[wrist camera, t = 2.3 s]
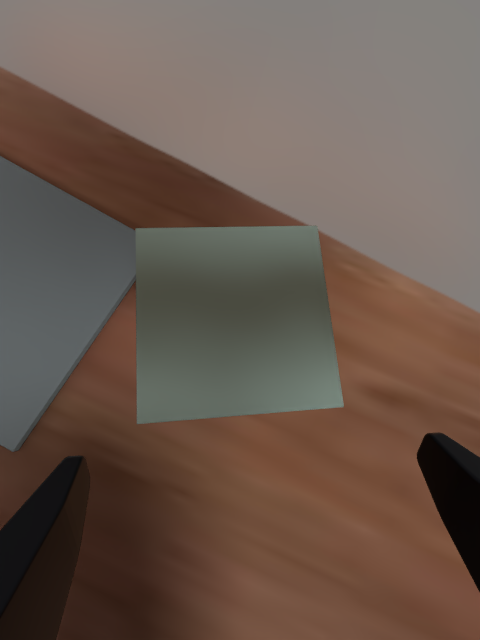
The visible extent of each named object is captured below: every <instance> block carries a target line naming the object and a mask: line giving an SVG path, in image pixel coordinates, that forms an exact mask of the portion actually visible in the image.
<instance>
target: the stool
mask: <svg viewBox="0 0 480 640" xmlns="http://www.w3.org/2000/svg"><path fill="white" fill-rule="evenodd" d="M136 359H137V424H143V423H155V422H168V421H180V420H192V419H204V418H216V417H228V416H240V415H252V414H264V413H276V412H288V411H300V410H312V409H324V408H336V407H344V404H343V398H342V391H341V384H340V377H339V371H338V364H337V357H336V350H335V343H334V337H333V330H332V323H331V316H330V310H329V303H328V296H327V289H326V282H325V276H324V269H323V262H322V255H321V248H320V242H319V235H318V228H317V226H260V227H189V228H136Z"/></svg>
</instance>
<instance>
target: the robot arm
mask: <svg viewBox="0 0 480 640" xmlns="http://www.w3.org/2000/svg"><path fill="white" fill-rule="evenodd" d="M417 461H418V464H419V466H420V469H421V471H422V473H423V476H424V478H425V481H426V483H427V486H428V488H429V490H430V493H431V495H432V498H433V500H434V503H435V505H436V508H437V510H438V512H439V514H440V517H441V519H442V521H443V523H444V525H445V527H446V529H447V531H448V532H449V534H450V536H451V538H452V540H453V542H454V544H455V546H456V548H457V550H458V552H459V554H460V555H461V557H462V559H463V561H464V563H465V565H466V567H467V569H468V571H469V573H470V575H471V577H472V578H473V580H474V582H475V584H476V586H477V588H478V590H479V592H480V457H478V456H477V455H475V454H474V453H472V452H471V451H469V450H468V449H466V448H465V447H463V446H462V445H460V444H459V443H457V442H455V441H454V440H452V439H451V438H449V437H448V436H446V435H445V434H443V433H427V434H426V435H425V436H424V438H423V440H422V443H421V445H420V447H419V450H418V452H417ZM89 489H90V475H89V471H88V467H87V462H86V459H85V457H84V456H69V457H66V458H65V459H64V460H63V461H62V462H61V463H60V464H59V465H58V466H57V467H56V469H55V470H54V471H53V472H52V473H51V474H50V475H49V476H48V478H47V479H46V480H45V481H44V482H43V483H42V484H41V485H40V486H39V488H38V489H37V490H36V491H35V492H34V493H33V494H32V495H31V497H30V498H29V499H28V500H27V501H26V502H25V503H24V504H23V506H22V507H21V508H20V509H19V510H18V511H17V512H16V513H15V515H14V516H13V517H12V518H11V519H10V520H9V521H8V522H7V524H6V525H5V526H4V527H3V528H2V529H1V530H0V640H56V637H57V633H58V630H59V626H60V622H61V619H62V615H63V611H64V608H65V604H66V600H67V597H68V593H69V589H70V585H71V582H72V578H73V574H74V571H75V567H76V563H77V559H78V555H79V550H80V545H81V539H82V533H83V526H84V520H85V514H86V508H87V501H88V495H89Z"/></svg>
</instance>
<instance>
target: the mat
mask: <svg viewBox="0 0 480 640" xmlns="http://www.w3.org/2000/svg"><path fill="white" fill-rule="evenodd" d="M135 280H136V231H135V230H133V229H131V228H129V227H128V226H126V225H124V224H122V223H120V222H118V221H117V220H115V219H113V218H111V217H109V216H108V215H106V214H104V213H102V212H100V211H99V210H97V209H95V208H93V207H91V206H90V205H88V204H86V203H84V202H82V201H81V200H79V199H77V198H75V197H73V196H71V195H70V194H68V193H66V192H64V191H62V190H61V189H59V188H57V187H55V186H53V185H52V184H50V183H48V182H46V181H44V180H43V179H41V178H39V177H37V176H35V175H34V174H32V173H30V172H28V171H26V170H24V169H23V168H21V167H19V166H17V165H15V164H14V163H12V162H10V161H8V160H6V159H5V158H3V157H1V156H0V445H2V446H3V447H5V448H7V449H9V450H10V451H12V452H14V451H18V450H19V449H20V447H21V446H22V444H23V443H24V441H25V440H26V439H27V437H28V436H29V434H30V433H31V431H32V430H33V428H34V427H35V425H36V424H37V423H38V421H39V420H40V418H41V417H42V415H43V414H44V412H45V411H46V410H47V408H48V407H49V405H50V404H51V402H52V401H53V399H54V398H55V396H56V395H57V394H58V392H59V391H60V389H61V388H62V386H63V385H64V383H65V382H66V380H67V379H68V378H69V376H70V375H71V373H72V372H73V370H74V369H75V367H76V366H77V365H78V363H79V362H80V360H81V359H82V357H83V356H84V354H85V353H86V351H87V350H88V349H89V347H90V346H91V344H92V343H93V341H94V340H95V338H96V337H97V336H98V334H99V333H100V331H101V330H102V328H103V327H104V325H105V324H106V322H107V321H108V320H109V318H110V317H111V315H112V314H113V312H114V311H115V309H116V308H117V307H118V305H119V304H120V302H121V301H122V299H123V298H124V296H125V295H126V293H127V292H128V291H129V289H130V288H131V286H132V285H133V283H134V282H135Z"/></svg>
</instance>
